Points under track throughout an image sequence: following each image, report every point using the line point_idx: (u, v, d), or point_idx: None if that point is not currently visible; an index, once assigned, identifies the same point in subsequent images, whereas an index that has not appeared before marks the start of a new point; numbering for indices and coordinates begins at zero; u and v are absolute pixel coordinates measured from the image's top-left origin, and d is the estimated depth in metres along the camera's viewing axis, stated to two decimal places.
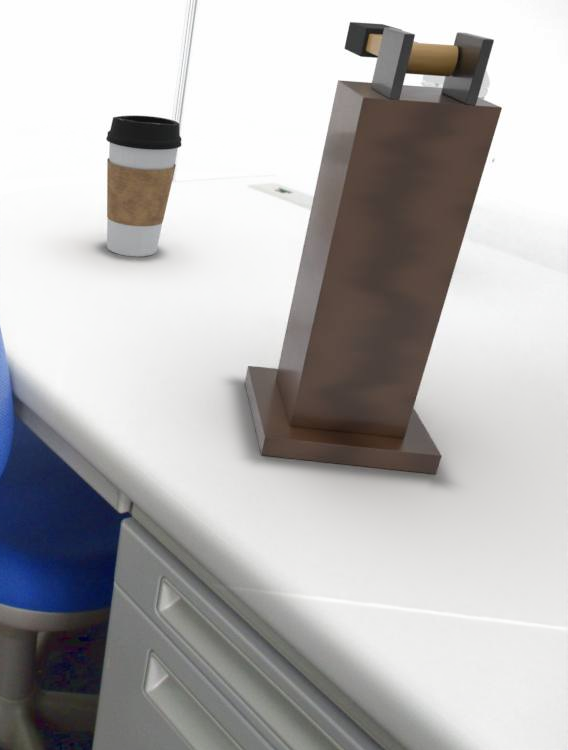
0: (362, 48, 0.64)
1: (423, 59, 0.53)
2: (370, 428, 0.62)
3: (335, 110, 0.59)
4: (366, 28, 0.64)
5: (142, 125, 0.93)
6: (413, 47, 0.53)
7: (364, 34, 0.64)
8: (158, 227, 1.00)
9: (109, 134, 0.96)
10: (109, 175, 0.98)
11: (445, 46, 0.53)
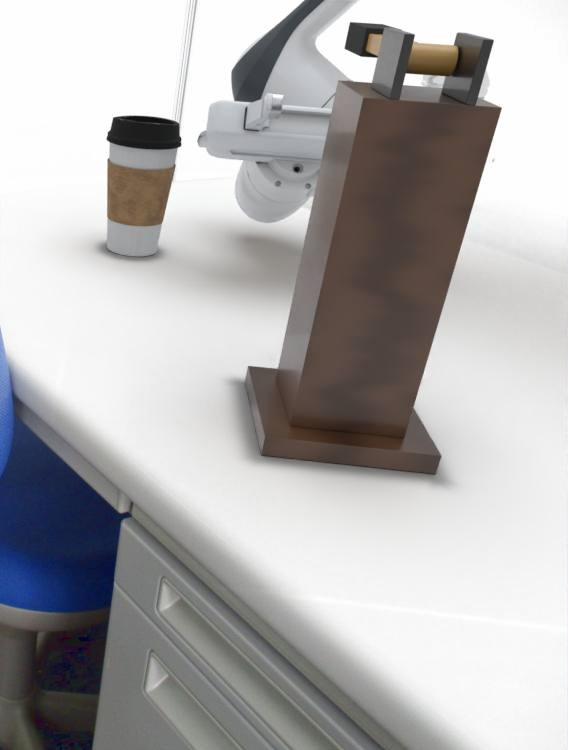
0: (362, 48, 0.64)
1: (423, 59, 0.53)
2: (370, 428, 0.62)
3: (335, 110, 0.59)
4: (366, 28, 0.64)
5: (142, 125, 0.93)
6: (413, 47, 0.53)
7: (364, 34, 0.64)
8: (158, 227, 1.00)
9: (109, 134, 0.96)
10: (109, 175, 0.98)
11: (445, 46, 0.53)
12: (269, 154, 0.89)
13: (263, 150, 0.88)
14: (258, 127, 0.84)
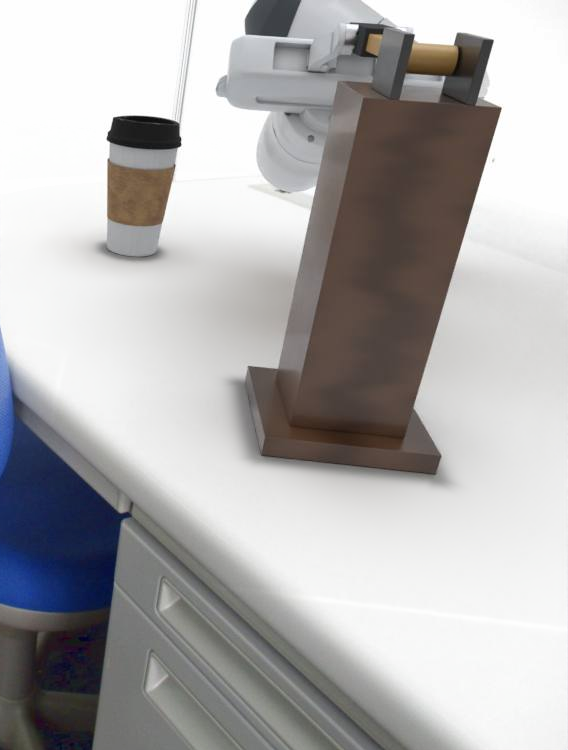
0: (362, 48, 0.64)
1: (423, 59, 0.53)
2: (370, 428, 0.62)
3: (335, 110, 0.59)
4: (366, 28, 0.64)
5: (142, 125, 0.93)
6: (413, 47, 0.53)
7: (364, 34, 0.64)
8: (158, 227, 1.00)
9: (109, 134, 0.96)
10: (109, 175, 0.98)
11: (445, 46, 0.53)
12: (301, 102, 0.76)
13: (295, 96, 0.74)
14: (325, 68, 0.70)
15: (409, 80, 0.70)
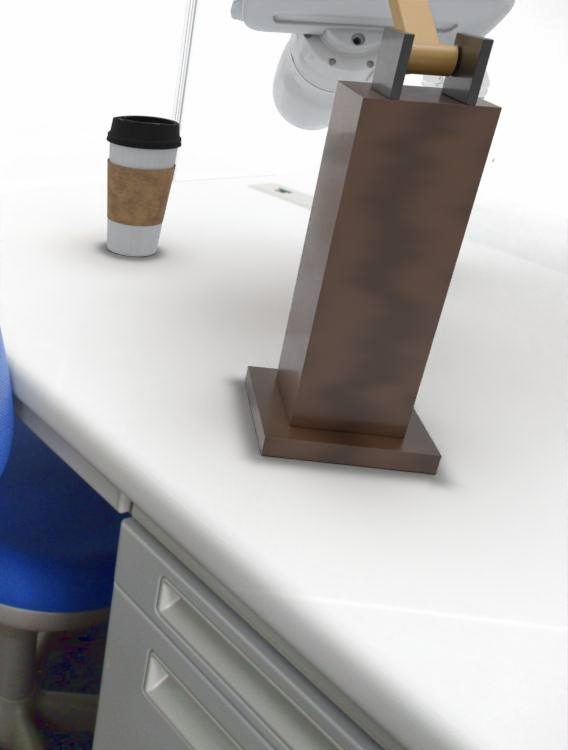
0: None
1: (421, 65, 0.54)
2: (370, 428, 0.62)
3: (335, 110, 0.59)
4: None
5: (142, 125, 0.93)
6: (413, 53, 0.53)
7: None
8: (158, 227, 1.00)
9: (109, 134, 0.96)
10: (109, 175, 0.98)
11: (446, 50, 0.53)
12: (322, 21, 0.71)
13: (315, 13, 0.69)
14: None
15: None
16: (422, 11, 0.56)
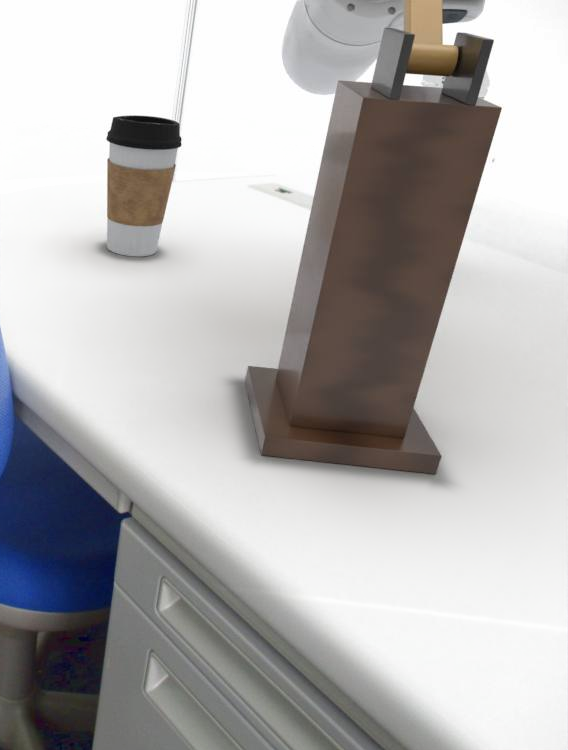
0: None
1: (419, 70, 0.54)
2: (370, 428, 0.62)
3: (335, 110, 0.59)
4: None
5: (142, 125, 0.93)
6: (412, 59, 0.53)
7: None
8: (158, 227, 1.00)
9: (109, 134, 0.96)
10: (109, 175, 0.98)
11: (445, 55, 0.53)
12: None
13: None
14: None
15: None
16: None
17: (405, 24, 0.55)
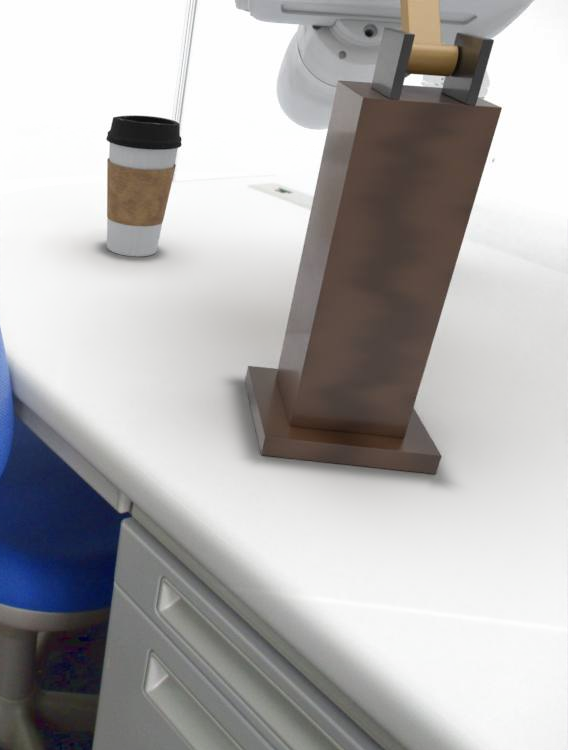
0: None
1: (420, 69, 0.54)
2: (370, 428, 0.62)
3: (335, 110, 0.59)
4: None
5: (142, 125, 0.93)
6: (412, 57, 0.53)
7: None
8: (158, 227, 1.00)
9: (109, 134, 0.96)
10: (109, 175, 0.98)
11: (445, 54, 0.53)
12: (333, 11, 0.67)
13: (326, 2, 0.65)
14: None
15: None
16: None
17: (403, 28, 0.55)
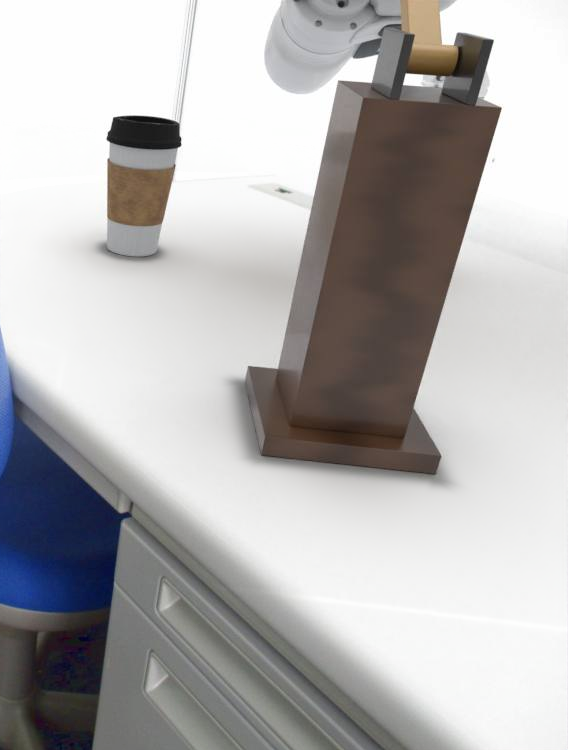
0: None
1: (420, 69, 0.54)
2: (370, 428, 0.62)
3: (335, 110, 0.59)
4: None
5: (142, 125, 0.93)
6: (412, 57, 0.53)
7: None
8: (158, 227, 1.00)
9: (109, 134, 0.96)
10: (109, 175, 0.98)
11: (445, 54, 0.53)
12: None
13: None
14: None
15: None
16: None
17: (403, 28, 0.55)
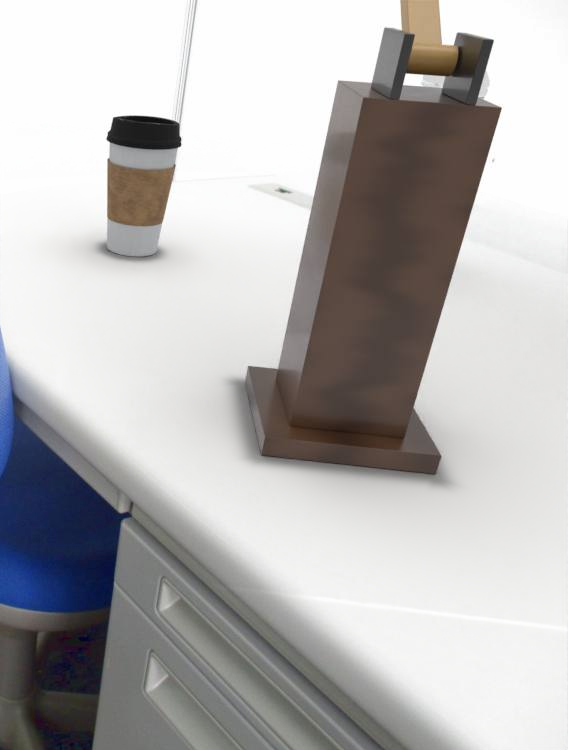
0: None
1: (420, 69, 0.54)
2: (370, 428, 0.62)
3: (335, 110, 0.59)
4: None
5: (142, 125, 0.93)
6: (412, 57, 0.53)
7: None
8: (158, 227, 1.00)
9: (109, 134, 0.96)
10: (109, 175, 0.98)
11: (445, 54, 0.53)
12: None
13: None
14: None
15: None
16: None
17: (403, 28, 0.55)
